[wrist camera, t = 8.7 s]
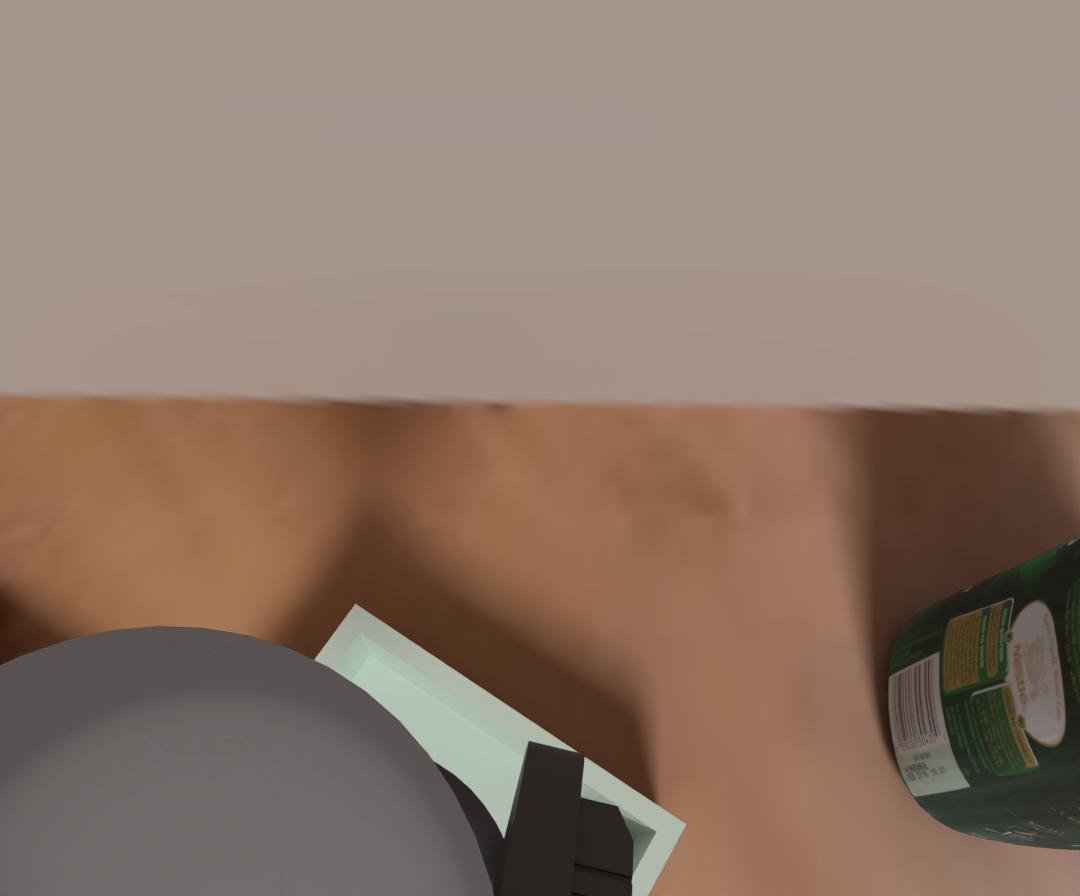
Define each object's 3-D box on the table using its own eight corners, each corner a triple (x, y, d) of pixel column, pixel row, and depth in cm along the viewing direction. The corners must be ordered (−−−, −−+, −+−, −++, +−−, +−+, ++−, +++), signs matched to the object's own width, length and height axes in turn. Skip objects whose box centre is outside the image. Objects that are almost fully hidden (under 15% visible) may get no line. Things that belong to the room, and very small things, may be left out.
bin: (136, 954, 29) (87, 967, 25) (367, 633, 33) (355, 603, 29) (457, 1201, 27) (455, 1253, 23) (660, 829, 31) (686, 824, 27)
